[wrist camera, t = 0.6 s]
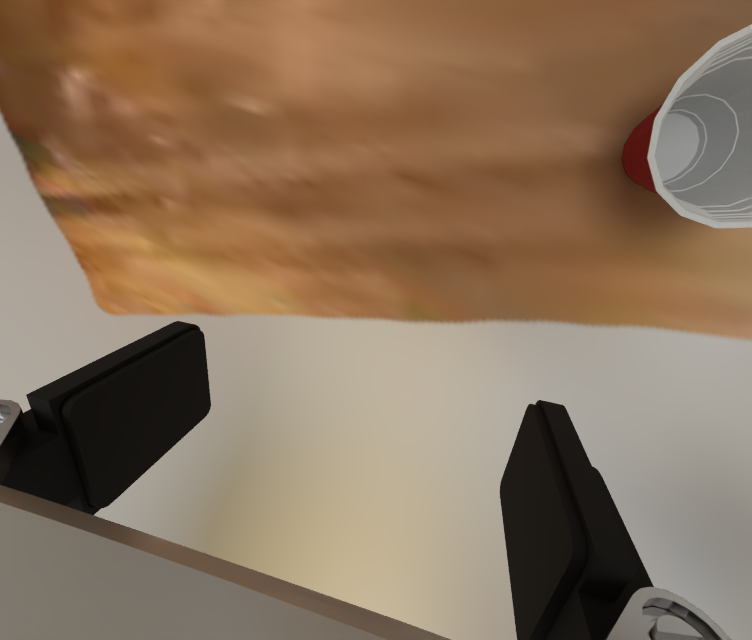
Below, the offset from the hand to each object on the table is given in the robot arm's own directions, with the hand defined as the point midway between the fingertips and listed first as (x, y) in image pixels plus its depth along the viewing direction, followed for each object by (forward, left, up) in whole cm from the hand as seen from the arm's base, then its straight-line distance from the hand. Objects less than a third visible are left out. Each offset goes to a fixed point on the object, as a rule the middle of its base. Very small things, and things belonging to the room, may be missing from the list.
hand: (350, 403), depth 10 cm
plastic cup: (-13, +16, -30) cm, 36 cm away
